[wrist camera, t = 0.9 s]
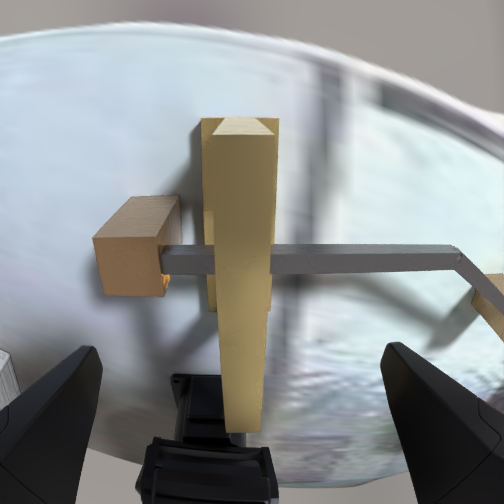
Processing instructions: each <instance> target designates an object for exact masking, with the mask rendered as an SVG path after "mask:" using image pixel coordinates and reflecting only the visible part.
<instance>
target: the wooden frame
mask: <svg viewBox="0 0 504 504" xmlns="http://www.w3.org/2000/svg"><path fill="white" fill-rule="evenodd" d="M278 135H279V118H277V117H203V118H201V145H202V187H203V214H204V237H205V245H214V250H215V274H216V275H207V290H208V304H209V312H217V314H218V331H219V347H220V362H221V376H222V389H223V402H224V414H225V426H226V433H251V432H260V426H261V412H262V397H263V382H264V366H265V349H266V332H267V314H268V311H270V309H271V291H272V274H270V254H271V244H274V234H275V213H276V189H277V164H278Z"/></svg>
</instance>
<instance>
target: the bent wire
mask: <svg viewBox="0 0 504 504" xmlns="http://www.w3.org/2000/svg"><path fill="white" fill-rule="evenodd" d="M92 239H93V244H94V249H95V254H96V259H97V264H98V268H99V273H100V277H101V281H102V285H103V289H104V294H105V295H110V296H144V297H164V296H165V292H166V289H167V286H168V283H169V280H170V277H171V275H216V274H215V250H214V245H182V242H183V240H182V227H181V213H180V197H179V195H168V196H141V197H131V198H130V199H129V200H128V201H127V202H126V203H125V204H124V205H123V206H122V207H121V208H120V209H119V210H118V211H117V212H116V213H115V214H114V215H113V216H112V217H111V218H110V219H109V220H108V221H107V222H106V223H105V224H104V226H103V227H102V228H101V229H100V230H99V231H98V232H97V233H96V234H95V235H94V236H93V237H92ZM431 270H455V271H456V272H457V273H458V274H459V275H461V276H462V277H463V278H464V279H465V280H466V281H467V282H469V283H470V284H471V285H472V286H473V287H474V288H475V289H476V293H475V295H474V298H473V301H472V303H471V304H472V306H473V307H474V308H475V309H476V310H477V311H478V312H479V313H480V315H481V316H482V317H483V318H484V319H485V320H486V322H487V323H488V324H489V325H490V326H491V327H492V329H493V330H494V331H495V332H496V333H497V335H498V336H499V337H500V338H501V340H502V341H503V342H504V274H503V273H502V274H488V275H484V274H483V273H482V272H481V271H480V270H479V269H478V268H477V267H476V266H475V265H474V264H473V263H472V262H471V261H470V260H469V259H468V258H467V257H466V256H465V255H464V254H463V253H462V252H461V251H460V250H459V249H458V248H456V247H455V246H452V245H402V244H271V254H270V274H330V273H371V272H404V271H431Z"/></svg>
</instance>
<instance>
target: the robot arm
mask: <svg viewBox="0 0 504 504" xmlns="http://www.w3.org/2000/svg"><path fill="white" fill-rule="evenodd" d="M380 368H381V373H382V377H383V381H384V386H385V390H386V395H387V400H388V404H389V408H390V411H391V414H392V418H393V421H394V424H395V427H396V430H397V433H398V436H399V439H400V442H401V446H402V449H403V452H404V455H405V459H406V462H407V466H408V469H409V472H410V476H411V480H412V483H413V487H414V490H415V494H416V497H417V502H418V504H504V414H503V413H501V412H499V411H498V410H496V409H495V408H493V407H492V406H490V405H489V404H487V403H486V402H485V401H483V400H482V399H480V398H479V397H478V398H477V396H476V395H475V394H473V393H472V392H471V391H469V390H468V389H466V388H465V387H463V386H462V385H461V384H459V383H458V382H456V381H455V380H454V379H452V378H451V377H449V376H448V375H447V374H445V373H444V372H442V371H441V370H439V369H438V368H437V367H435V366H434V365H432V364H431V363H430V362H428V361H427V360H425V359H424V358H422V357H421V356H420V355H418V354H417V353H415V352H414V351H413V350H411V349H410V348H408V347H407V346H405V345H404V344H403V343H401V342H391V343H388V344H387V345H386V348H385V351H384V353H383V356H382V359H381V363H380ZM102 372H103V367H102V363H101V360H100V358H99V355H98V352H97V350H96V348H95V347H94V346H86V345H83V346H81V347H80V348H78V349H77V350H76V351H74V352H73V353H72V354H71V355H69V356H68V357H67V358H65V359H64V360H63V361H62V362H60V363H59V364H58V365H57V366H55V367H54V368H53V369H51V370H50V371H49V372H48V373H46V374H45V375H44V376H43V377H41V378H40V379H39V380H38V381H36V382H35V383H34V384H32V385H31V386H30V387H29V388H27V389H26V390H25V391H24V392H22V393H21V394H20V395H19V396H18V397H16V398H15V399H14V400H13V401H11V402H10V403H9V405H6V406H5V407H4V408H3V409H1V410H0V504H75V501H76V496H77V490H78V486H79V480H80V476H81V471H82V466H83V462H84V457H85V453H86V449H87V445H88V441H89V437H90V433H91V429H92V425H93V421H94V418H95V413H96V408H97V402H98V396H99V390H100V384H101V378H102ZM171 385H172V389H173V393H174V397H175V401H176V405H177V408H178V413H177V420H176V428H175V435H174V441H173V440H167V439H161V437H155V436H154V438H153V442H152V444H150V445H149V446H147V449H146V454H145V460H144V464H143V466H142V469H141V471H140V474H139V476H138V479H137V481H136V486H135V489H136V491H137V492H138V493H139V494H140V496H141V501H142V504H278V503H279V491H278V484H277V479H276V475H275V471H274V467H273V463H272V459H271V454H270V450H269V447H261V448H251V447H246V433H226V426H225V414H224V402H223V389H222V376H221V375H186V374H174V375H172V376H171Z"/></svg>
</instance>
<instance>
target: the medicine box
mask: <svg viewBox="0 0 504 504" xmlns="http://www.w3.org/2000/svg"><path fill="white" fill-rule="evenodd" d="M20 394H21V392H20V389H19V386H18V383H17V380H16V376H15V373H14V370H13V366H12V362H11V359H10V354H8V353H6V352H4V351H3V350H0V410H1V409H3V408H4V407H5V406H6V405H9V403H10V402H11V401H13V400H14V399H15V398H16V397H18V396H19V395H20Z"/></svg>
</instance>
